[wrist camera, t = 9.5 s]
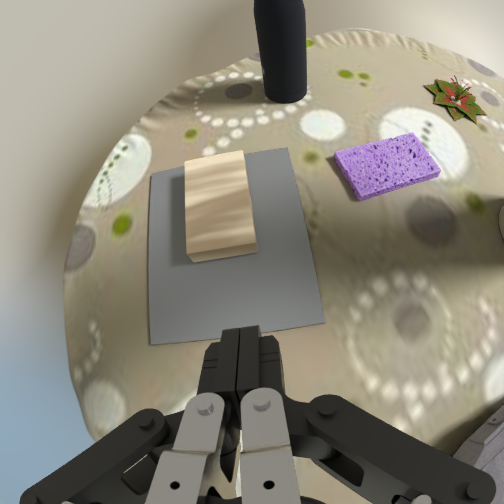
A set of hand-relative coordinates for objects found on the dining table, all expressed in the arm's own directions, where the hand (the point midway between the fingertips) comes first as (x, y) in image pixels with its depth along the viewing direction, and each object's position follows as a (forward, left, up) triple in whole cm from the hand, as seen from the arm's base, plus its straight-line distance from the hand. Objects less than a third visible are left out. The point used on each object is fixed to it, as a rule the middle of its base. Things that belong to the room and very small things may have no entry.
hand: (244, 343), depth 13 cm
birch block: (-7, -10, -16) cm, 20 cm away
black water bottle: (-34, -18, -18) cm, 42 cm away
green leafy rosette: (-49, +7, -19) cm, 53 cm away
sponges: (-27, +1, -19) cm, 33 cm away
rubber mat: (-9, -12, -18) cm, 23 cm away
